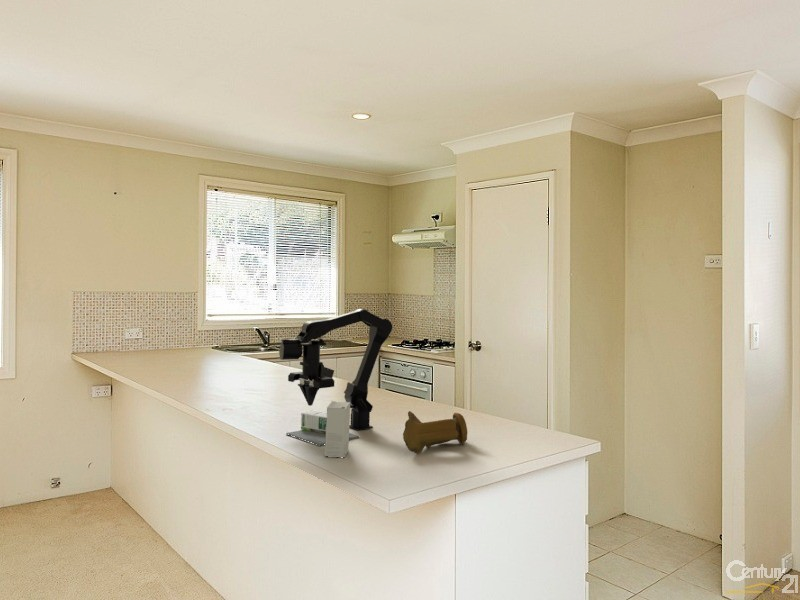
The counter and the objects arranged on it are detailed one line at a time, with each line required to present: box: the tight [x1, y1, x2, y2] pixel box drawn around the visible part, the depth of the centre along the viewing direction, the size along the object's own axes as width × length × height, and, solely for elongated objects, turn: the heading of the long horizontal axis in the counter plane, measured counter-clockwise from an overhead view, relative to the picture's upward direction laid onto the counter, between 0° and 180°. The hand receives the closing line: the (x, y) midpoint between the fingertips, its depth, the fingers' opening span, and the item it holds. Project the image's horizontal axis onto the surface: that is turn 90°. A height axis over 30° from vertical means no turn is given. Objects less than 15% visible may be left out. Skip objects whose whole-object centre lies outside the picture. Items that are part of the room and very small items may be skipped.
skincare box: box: [324, 400, 351, 458], centre depth 172 cm, size 8×6×15 cm
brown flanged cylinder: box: [402, 411, 468, 454], centre depth 182 cm, size 18×13×22 cm
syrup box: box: [300, 409, 327, 434], centre depth 197 cm, size 6×6×14 cm
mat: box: [285, 429, 360, 446], centre depth 192 cm, size 18×16×1 cm
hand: (310, 405), depth 197 cm, fingers closed
